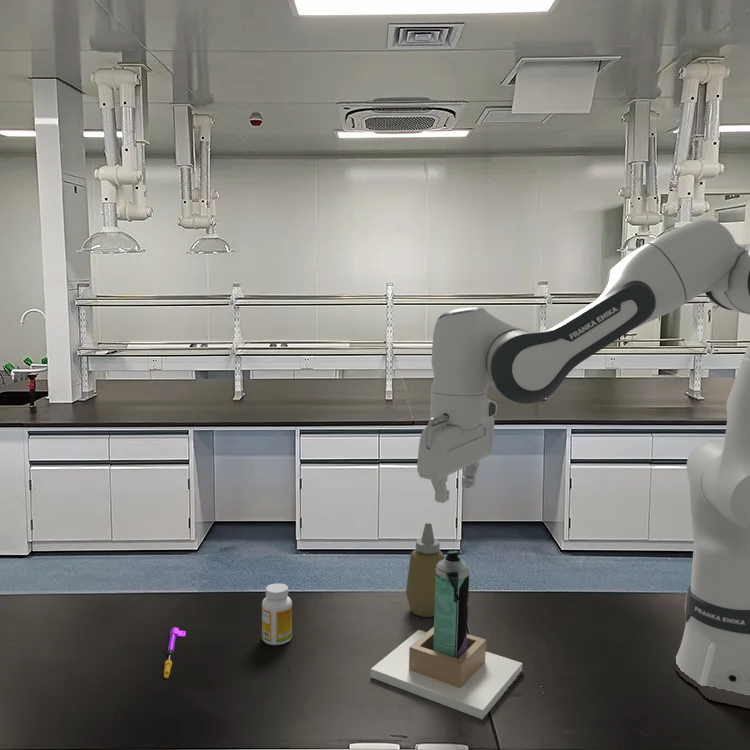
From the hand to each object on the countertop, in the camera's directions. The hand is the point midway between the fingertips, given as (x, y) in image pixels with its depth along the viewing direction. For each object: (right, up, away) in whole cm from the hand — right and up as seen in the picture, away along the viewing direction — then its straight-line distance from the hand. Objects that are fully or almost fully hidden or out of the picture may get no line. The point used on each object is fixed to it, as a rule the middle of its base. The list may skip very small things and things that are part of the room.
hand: (455, 494), depth 115 cm
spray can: (-1, -29, +4) cm, 30 cm away
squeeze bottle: (-3, -28, +26) cm, 38 cm away
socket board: (-1, -31, +4) cm, 31 cm away
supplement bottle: (-31, -29, +15) cm, 45 cm away
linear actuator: (-48, -30, +9) cm, 57 cm away
